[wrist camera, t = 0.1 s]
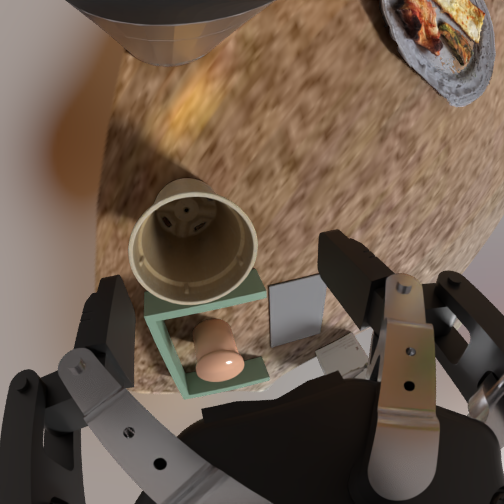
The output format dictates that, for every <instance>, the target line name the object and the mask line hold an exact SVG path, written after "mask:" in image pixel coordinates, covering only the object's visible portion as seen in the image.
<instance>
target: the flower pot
mask: <svg viewBox="0 0 504 504" xmlns="http://www.w3.org/2000/svg"><path fill="white" fill-rule="evenodd" d="M208 198H211V200H209V199H208ZM186 208H188V209H189V211H188V212H185V211H184V210H185V209H186ZM164 217H166V218H167V219H168V221H169V222H170V223H171V224H172V225H171V226H170V227H168V226H166V225H165V223H164V221H163V219H162V218H164ZM203 222H204V223H205V224H204V225H203V226H202V227H201V228H200V229H198V230H196V231H194V228H195V227H196V226H199V225H200V224H201V223H203ZM257 248H258V243H257V235H256V231H255V229H254V227H253V224H252V222H251V221H250V219H249V217H248V216H247V215H246V213H245V212H244V211H243V210H242V209H241V208H240V207H239V206H237V205H236V204H235V203H233V202H232V201H230V200H229V199H227V198H225V197H223V196H220V195H218V194H216V193H215V192H214V191H213V189H212V188H211V187H210V186H209V185H207V184H206V183H204V182H202V181H200V180H197V179H191V178H182V179H178V180H175V181H173V182H171V183H169V184H167V185H166V186H165V187H164V188H163V189H162V190H161V191H160V192H159V194H158V196H157V198H156V200H155V202H154V204H153V205H152V206H151V207H150V208H148V209H147V210H146V211H145V212H144V213H143V214H142V216H141V217H140V218H139V220H138V221H137V223H136V224H135V226H134V228H133V230H132V233H131V236H130V240H129V247H128V255H129V262H130V266H131V269H132V271H133V273H134V275H135V277H136V279H137V280H138V282H139V283H140V284H141V285H142V286H143V287H144V288H145V289H146V290H147V291H149V292H150V293H151V294H153V295H154V296H156V297H158V298H160V299H162V300H166V301H168V302H171V303H176V304H181V305H197V304H204V303H208V302H211V301H214V300H217V299H219V298H221V297H223V296H225V295H227V294H228V293H230V292H231V291H233V290H234V289H235V288H237V287H238V286H239V285H240V284H241V283H242V282H243V281H244V279H245V278H246V277H247V276H248V274H249V273H250V271H251V269H252V267H253V265H254V262H255V259H256V256H257Z"/></svg>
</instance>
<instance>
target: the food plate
mask: <svg viewBox="0 0 504 504" xmlns="http://www.w3.org/2000/svg"><path fill="white" fill-rule="evenodd" d="M379 8H380V10H381V13H382V14H383V18H384V21H385V23H386V26H384V27H387V26H388V25H389V26H390V29H389V34H390V36H391V38H392V39H393V40H394V41H396V42H397V44H398V47H397V49H398V52H399V53H400V55H401V56H402V57H403V59H404V60H405V61H406V62H407V63H408V64H410V65H411V66H412V67H413V69H414V70H415V71H417V72H418V73H419V74H420V75H421V76H422V77H423V78H424V79H425V80H426V81H427V82H428V83H429V84H430V85H431V86H433V87H434V88H435V89H436V90H437V91H438V92H439V94H441V95H442V96H443V97H444V98H447V101H449V104H450V105H451V106H455V107H463V106H466V105H468V104H470V103H471V102H473V101H474V100H476V99H477V98H479V97H480V96H481V95H482V94H483V92H484V91H485V89H486V87H487V86H488V84H490V83H489V80H490V77H492V72H493V66H494V61H495V55H496V54H495V42H494V41H495V40H494V31H493V25H492V21H491V17H490V14H489V12H488V9H487V6H486V4H485V2H484V0H379ZM459 31H460V32H461V33H460V32H459ZM462 34H463V35H464V36H466V37H467V38H468V39H469V40H470V41H471V40H472V41H473V42H474V45H473V50H471V46H470V44H469V42H468V41H467V40H466V39H465V38H464V37H463V35H462ZM445 43H446V44H445ZM452 54H453V56H454V57H456V59H457V60H458V61H459V62H460V64H461V67H462V66H463V65H465V64H466V62H469V60H470V62H469V64H468V65H467V67H465V68H464V69H463V70H461V72H460V73H457V72H456V71H457V70H455V68H454V69H453V68H452V66H453V65H454V64H453V61H454V59H455V58H454V57H452ZM435 56H436V57H437V58H435ZM440 57H441V58H442V59H441V60H440ZM451 57H452V58H451ZM449 58H450V60H451V62H450V61H449ZM441 61H442V62H443V63H444V62H445V64H443V66H442V63H441ZM448 63H449V64H448ZM446 64H447V65H446ZM410 65H409V66H410ZM445 65H446V66H445ZM450 65H451V66H450ZM411 66H410V67H411ZM449 66H450V67H451V68H452V69H453V71H454V72H455V74H452V71H451V69H450V68H449ZM441 68H442V69H443V70H441ZM446 68H447V69H446ZM437 69H439V70H437ZM459 70H460V69H459V68H458V71H459ZM446 73H447V74H446Z"/></svg>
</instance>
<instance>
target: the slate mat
mask: <svg viewBox="0 0 504 504" xmlns="http://www.w3.org/2000/svg"><path fill="white" fill-rule="evenodd" d="M326 288H327V285H326V284H325V283H324V282H323V280H322V279H321V277H320V275H319V274H317V275H313V276H309V277H305V278H301V279H297V280H292V281H288V282H284V283H280V284H275V285H271V286H269V301H270V334H271V347H275V346H278V345H282V344H285V343H289V342H293V341H296V340H299V339H303V338H306V337H310V336H313V335H316V334H319V333H320V331H321V324H322V317H323V310H324V303H325V296H326Z"/></svg>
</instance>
